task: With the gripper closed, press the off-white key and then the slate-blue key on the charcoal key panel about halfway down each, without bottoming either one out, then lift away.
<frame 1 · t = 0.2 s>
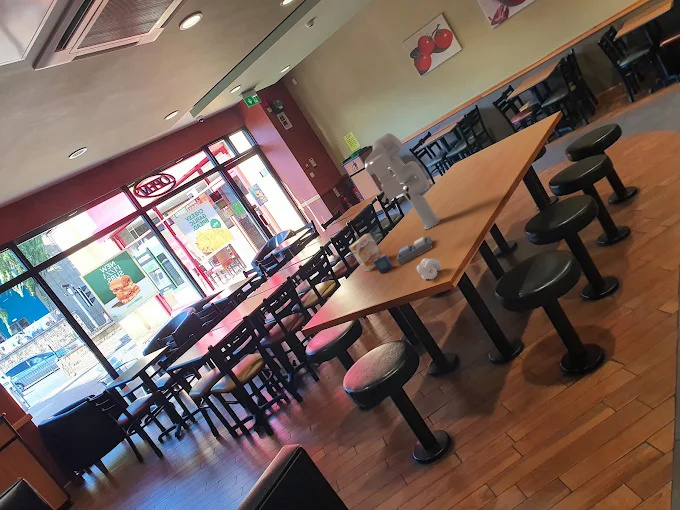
hand: (402, 204, 287), 30 cm above the table, tool pointing down, fingers open, 9 cm apart
coffeecake box: (375, 265, 332), on the table
blue key: (405, 250, 302), point 4 cm above the table, slide at 0.0 cm
white key: (419, 242, 298), point 4 cm above the table, slide at 0.0 cm
key panel: (416, 253, 301), on the table
white rounded lump: (432, 277, 251), on the table
dark blue boxy piece: (387, 270, 306), on the table
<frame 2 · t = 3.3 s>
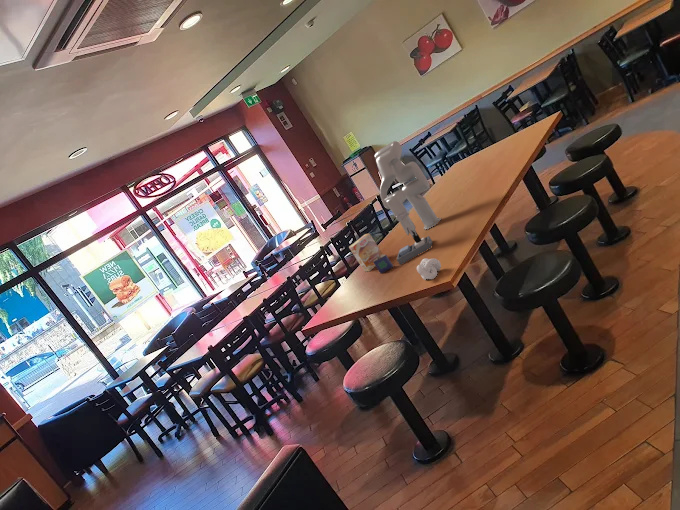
hand: (418, 241, 298), 5 cm above the table, tool pointing down, fingers closed
white key: (420, 243, 298), point 4 cm above the table, slide at 0.6 cm, touching gripper
everything else where it was.
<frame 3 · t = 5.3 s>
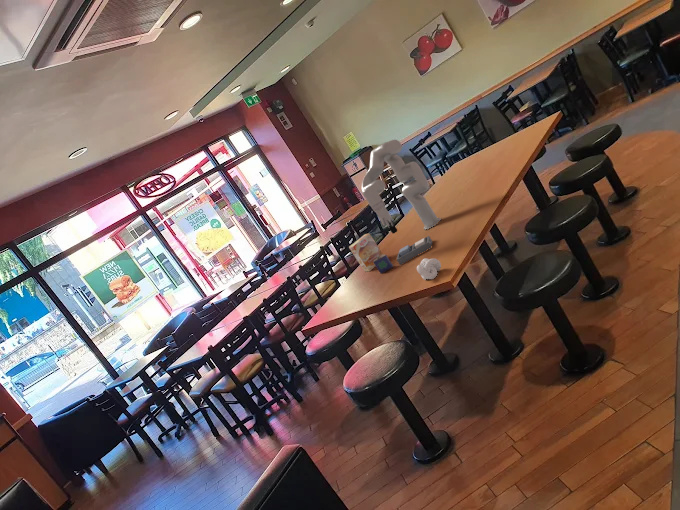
hand: (395, 232, 299), 17 cm above the table, tool pointing down, fingers closed
white key: (420, 244, 298), point 4 cm above the table, slide at 1.0 cm
everything else where it was.
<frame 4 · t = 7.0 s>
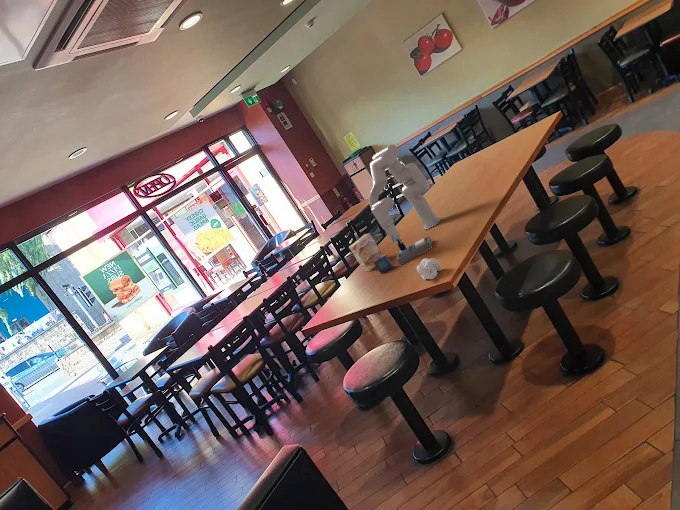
hand: (403, 249, 301), 6 cm above the table, tool pointing down, fingers closed
blue key: (405, 251, 302), point 4 cm above the table, slide at 0.3 cm, touching gripper
everything else where it was.
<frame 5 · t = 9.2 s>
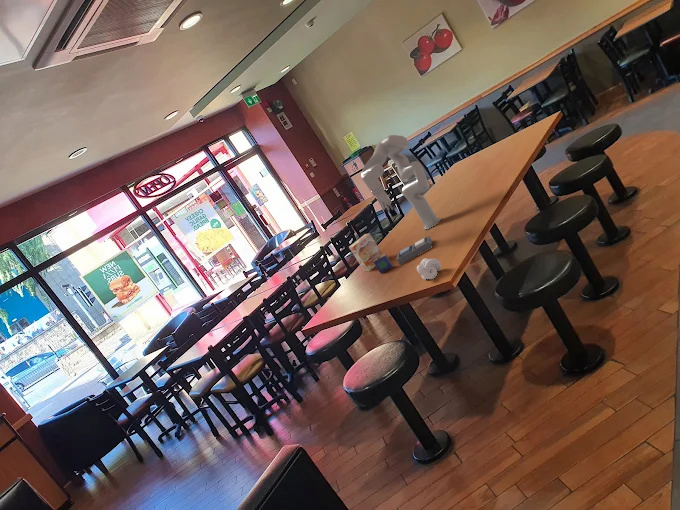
hand: (395, 215, 305), 24 cm above the table, tool pointing down, fingers closed
blue key: (405, 252, 302), point 4 cm above the table, slide at 0.9 cm
everything else where it was.
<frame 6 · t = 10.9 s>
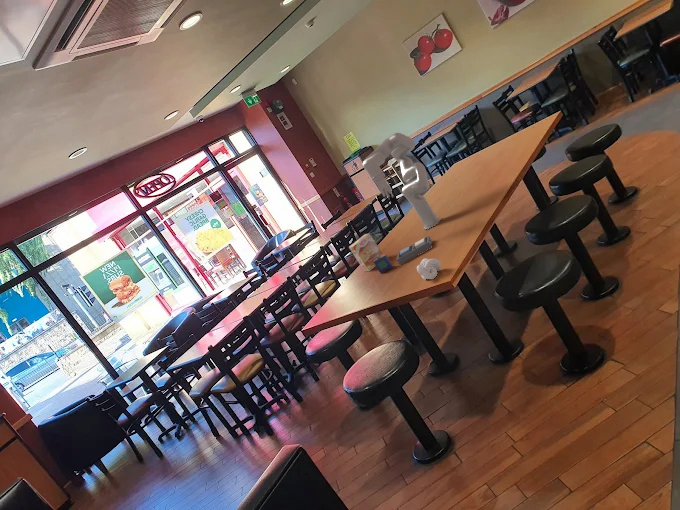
hand: (395, 203, 308), 29 cm above the table, tool pointing down, fingers closed
nothing on the table moved.
at the end: white key slide at 1.0 cm; blue key slide at 0.9 cm; dark blue boxy piece moved 0.3 cm from its start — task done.
